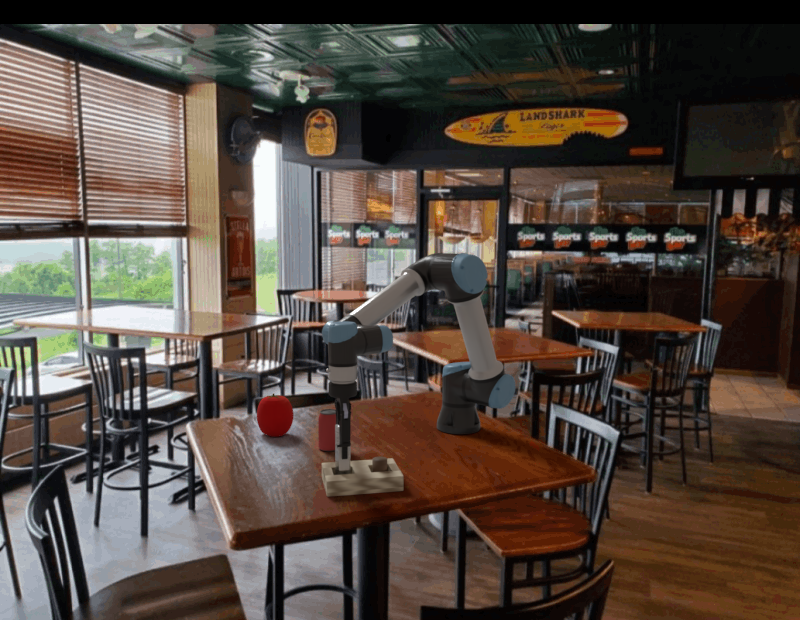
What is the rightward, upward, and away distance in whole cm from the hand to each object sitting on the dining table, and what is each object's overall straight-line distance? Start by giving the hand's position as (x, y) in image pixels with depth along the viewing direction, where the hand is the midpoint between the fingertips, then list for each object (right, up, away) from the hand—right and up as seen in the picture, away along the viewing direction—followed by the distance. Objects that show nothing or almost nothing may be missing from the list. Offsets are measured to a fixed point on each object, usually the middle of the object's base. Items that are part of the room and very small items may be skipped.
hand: (343, 466), depth 172 cm
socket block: (+5, -5, +2) cm, 7 cm away
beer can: (-7, -2, +30) cm, 31 cm away
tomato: (-27, 0, +44) cm, 51 cm away
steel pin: (0, -3, 0) cm, 3 cm away
